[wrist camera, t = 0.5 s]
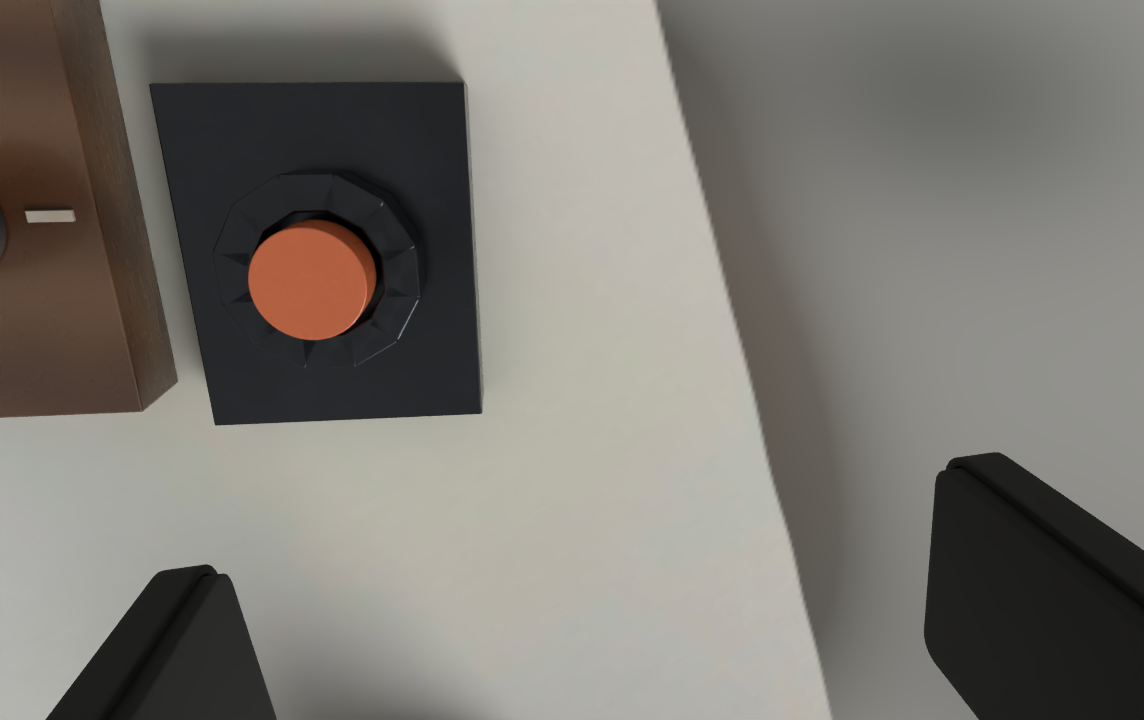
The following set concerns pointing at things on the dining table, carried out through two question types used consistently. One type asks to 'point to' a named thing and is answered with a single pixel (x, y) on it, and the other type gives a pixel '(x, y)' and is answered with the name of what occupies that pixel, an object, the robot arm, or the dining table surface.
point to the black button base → (344, 196)
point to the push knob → (312, 279)
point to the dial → (2, 233)
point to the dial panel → (71, 226)
